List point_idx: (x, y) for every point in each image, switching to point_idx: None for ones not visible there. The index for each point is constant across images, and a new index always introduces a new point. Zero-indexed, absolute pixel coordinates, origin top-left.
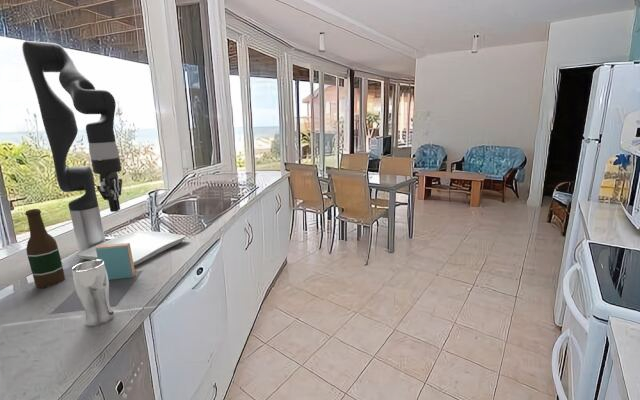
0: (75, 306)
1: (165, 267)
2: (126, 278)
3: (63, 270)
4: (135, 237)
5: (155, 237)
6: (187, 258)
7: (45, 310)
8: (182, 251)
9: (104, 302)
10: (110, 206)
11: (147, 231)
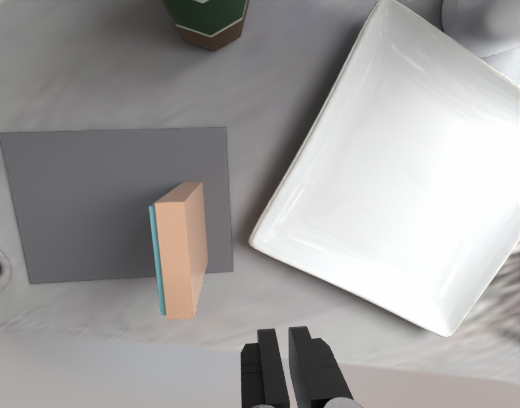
0: (35, 181)
1: (249, 318)
2: None
3: (239, 29)
4: None
5: (496, 223)
6: None
7: (31, 101)
8: (357, 330)
9: None
10: (241, 376)
11: None
